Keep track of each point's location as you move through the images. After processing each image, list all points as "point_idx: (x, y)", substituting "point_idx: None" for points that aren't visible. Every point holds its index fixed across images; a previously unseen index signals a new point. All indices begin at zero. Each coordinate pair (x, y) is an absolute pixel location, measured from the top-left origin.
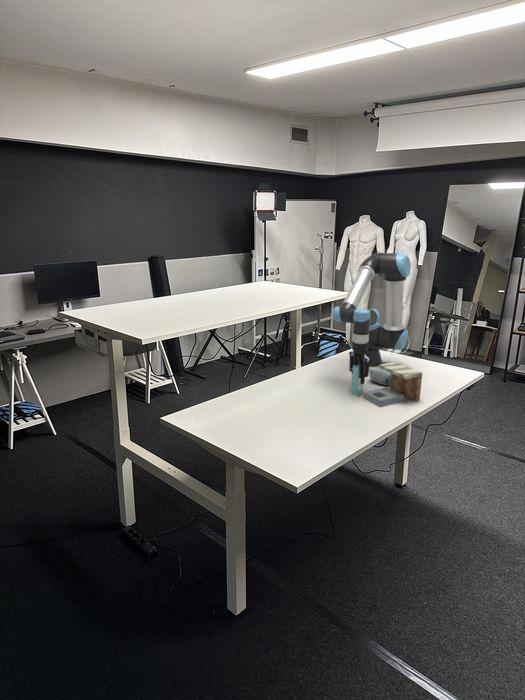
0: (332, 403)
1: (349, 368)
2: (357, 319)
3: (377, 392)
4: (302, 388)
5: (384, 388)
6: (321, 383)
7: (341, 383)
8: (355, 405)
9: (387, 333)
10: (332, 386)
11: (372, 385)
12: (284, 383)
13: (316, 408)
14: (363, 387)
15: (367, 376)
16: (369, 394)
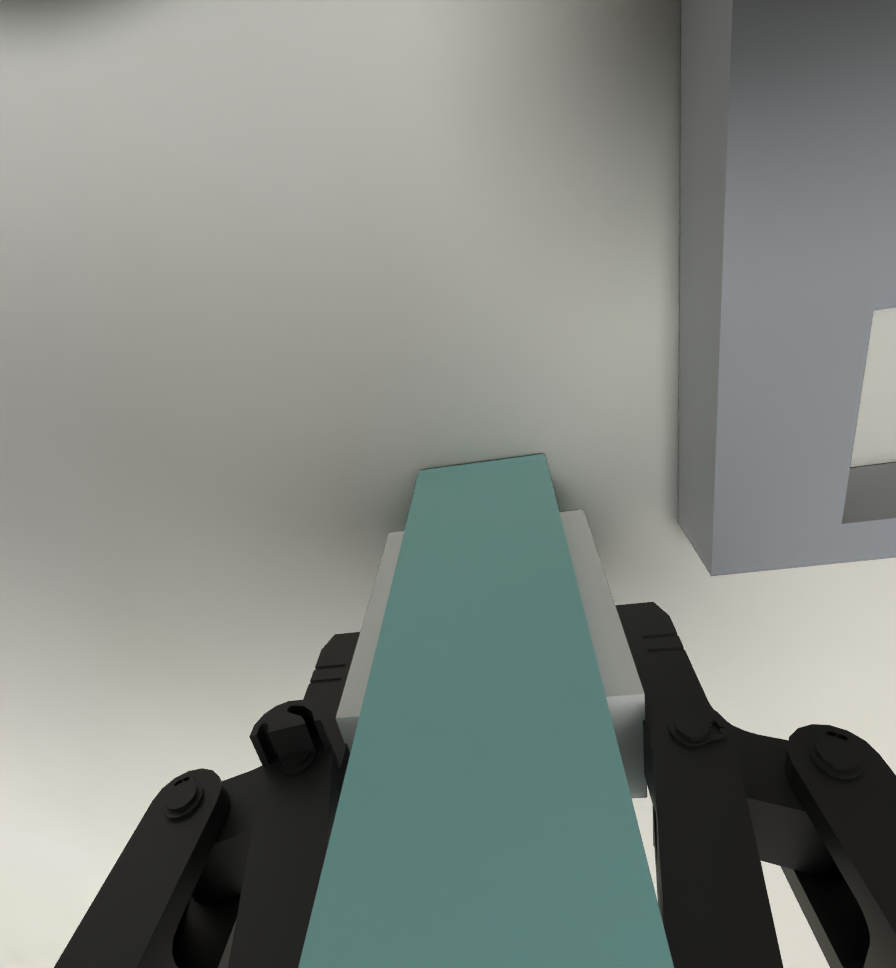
0: (647, 844)
1: (183, 931)
2: None
3: (861, 363)
4: None
5: (779, 56)
6: (70, 725)
7: (73, 533)
8: (825, 706)
9: None
10: (179, 669)
11: (201, 53)
12: (67, 942)
13: None
14: (589, 530)
15: (867, 764)
16: (855, 551)
